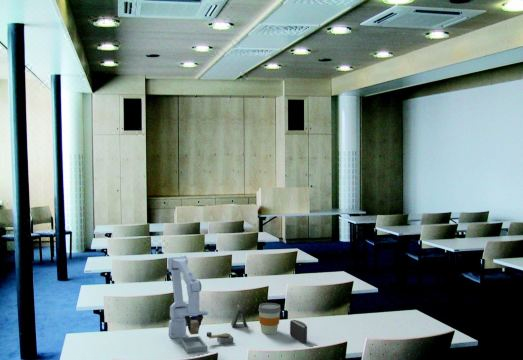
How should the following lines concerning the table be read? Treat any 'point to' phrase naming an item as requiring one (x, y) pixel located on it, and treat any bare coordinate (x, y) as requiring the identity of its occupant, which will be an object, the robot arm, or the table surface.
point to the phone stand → (237, 318)
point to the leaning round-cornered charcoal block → (298, 331)
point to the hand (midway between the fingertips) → (193, 329)
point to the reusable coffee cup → (269, 317)
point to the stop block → (194, 327)
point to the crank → (217, 335)
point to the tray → (193, 344)
